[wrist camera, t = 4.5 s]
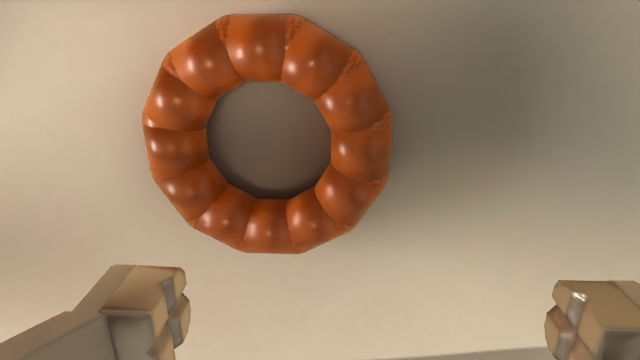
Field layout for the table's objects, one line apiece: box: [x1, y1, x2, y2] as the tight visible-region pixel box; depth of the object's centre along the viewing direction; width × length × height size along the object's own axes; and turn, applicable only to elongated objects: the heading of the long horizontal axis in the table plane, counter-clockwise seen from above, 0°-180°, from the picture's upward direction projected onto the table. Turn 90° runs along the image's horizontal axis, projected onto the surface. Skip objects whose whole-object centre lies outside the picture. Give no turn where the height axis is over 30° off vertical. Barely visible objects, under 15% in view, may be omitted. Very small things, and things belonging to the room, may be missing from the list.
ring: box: [142, 14, 392, 254], centre depth 20 cm, size 12×12×3 cm
